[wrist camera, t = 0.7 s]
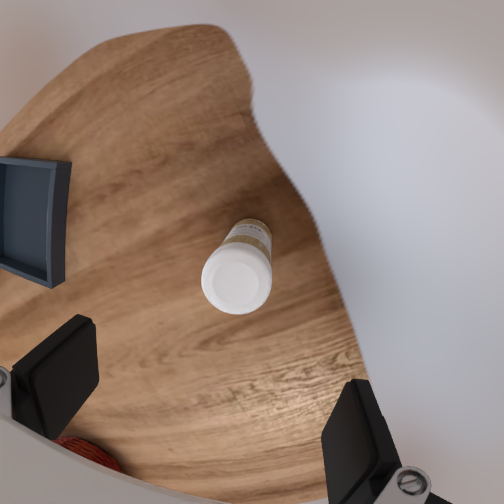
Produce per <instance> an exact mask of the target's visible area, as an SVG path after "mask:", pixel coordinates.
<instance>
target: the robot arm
mask: <svg viewBox="0 0 504 504" xmlns="http://www.w3.org/2000/svg"><path fill="white" fill-rule="evenodd" d="M12 368H13V370H12V371H11V372H9V371H8V370H7V369H6V368H4V367H2V366H0V504H233V503H227V502H222V501H217V500H212V499H207V498H202V497H198V496H194V495H190V494H186V493H182V492H178V491H174V490H171V489H167V488H164V487H160V486H157V485H154V484H151V483H148V482H145V481H142V480H139V479H136V478H133V477H130V476H128V475H125V474H122V473H120V472H117V471H114V470H112V469H109V468H107V467H105V466H102V465H100V464H97V463H95V462H93V461H91V460H88V459H86V458H84V457H82V456H80V455H78V454H76V453H74V452H71V451H69V450H67V449H65V448H64V447H62V446H60V445H58V444H56V443H54V442H52V441H51V440H56V439H57V438H58V437H59V435H60V434H61V433H62V431H63V430H64V429H65V427H66V426H67V425H68V423H69V422H70V421H71V419H72V418H73V417H74V415H75V414H76V413H77V411H78V410H79V409H80V408H81V406H82V405H83V404H84V402H85V401H86V400H87V398H88V397H89V396H90V395H91V393H92V392H93V391H94V389H95V388H96V387H97V385H98V383H99V371H98V359H97V344H96V326H95V324H94V323H93V322H92V319H91V318H88V317H85V316H82V315H80V314H77V315H75V316H74V317H73V318H71V319H70V320H69V321H67V322H66V323H65V324H64V325H62V326H61V327H60V328H59V329H57V330H56V331H55V332H54V333H52V334H51V335H50V336H49V337H47V338H46V339H45V340H44V341H42V342H41V343H40V344H39V345H37V346H36V347H35V348H34V349H33V350H31V351H30V352H29V353H28V354H26V355H25V356H24V357H23V358H22V359H20V360H19V361H18V362H17V363H16V364H15V365H13V366H12ZM321 442H322V450H323V457H324V466H325V474H326V482H327V491H328V500H329V504H452V503H450V502H447V501H446V500H444V499H442V498H440V497H439V496H437V495H435V494H433V493H431V492H430V489H431V480H430V478H429V477H428V475H427V474H426V473H425V472H424V471H422V470H421V469H419V468H416V467H413V466H405V467H402V464H401V462H400V459H399V456H398V453H397V450H396V448H395V445H394V442H393V439H392V437H391V434H390V431H389V429H388V426H387V423H386V421H385V418H384V417H383V416H382V414H381V411H380V408H379V406H378V403H377V401H376V398H375V396H374V393H373V390H372V388H371V385H370V383H369V381H368V380H363V379H352V380H351V381H350V382H347V383H346V384H345V386H344V388H343V390H342V392H341V394H340V397H339V399H338V401H337V403H336V405H335V407H334V409H333V411H332V413H331V415H330V417H329V419H328V421H327V423H326V425H325V427H324V429H323V431H322V435H321Z"/></svg>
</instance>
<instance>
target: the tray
mask: <svg viewBox="0 0 504 504" xmlns="http://www.w3.org/2000/svg"><path fill="white" fill-rule="evenodd" d="M71 164H72V163H71V162H64V161H55V160H45V159H35V158H24V157H12V156H0V268H2V269H4V270H7V271H9V272H11V273H14V274H16V275H18V276H21V277H23V278H25V279H28V280H30V281H33V282H35V283H38V284H40V285H43V286H45V287H48V288H51V289H52V288H54V287H56V286H57V285H59V284H61V283H62V282H64V281H65V229H66V212H67V200H68V189H69V180H70V172H71Z"/></svg>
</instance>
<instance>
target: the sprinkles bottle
mask: <svg viewBox="0 0 504 504" xmlns="http://www.w3.org/2000/svg"><path fill="white" fill-rule="evenodd" d="M271 245H272V235H271V232H270V230H269V228H268V227H267V226H266V225H265V224H264V223H263V222H261V221H259V220H256V219H251V218H250V219H244V220H241V221H240V222H237V223H236V224H235V225H234V226H233V227H232V229H231V231H230V233H229V234H228V236H227V237H226V238H225V240H224V241H223V243H222V244H221V246H220V247H219V248H218V249H217V250H215V251H214V252H213V253H212V255H211V256H210V257H209V259H208V261H207V262H206V264H205V266H204V268H203V271H202V277H201V283H202V288H203V291H204V294H205V296H206V297H207V299H208V300H209V301H210V302H211V304H212V305H214V306H215V307H216V308H218V309H219V310H221V311H223V312H226V313H230V314H245V313H249V312H252V311H254V310H256V309H257V308H259V307H260V306H261V305H262V304H263V303H264V302H265V301H266V299H267V298H268V296H269V293H270V290H271V285H272V270H271V266H270V265H271Z"/></svg>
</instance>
